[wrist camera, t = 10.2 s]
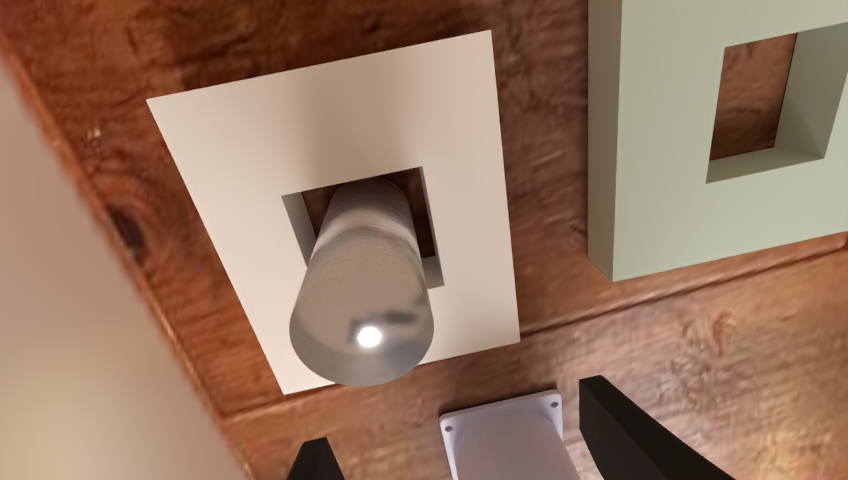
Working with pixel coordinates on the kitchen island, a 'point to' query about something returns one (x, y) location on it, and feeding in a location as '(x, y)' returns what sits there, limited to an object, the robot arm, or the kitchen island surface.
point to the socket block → (709, 133)
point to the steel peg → (364, 290)
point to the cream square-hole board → (347, 161)
